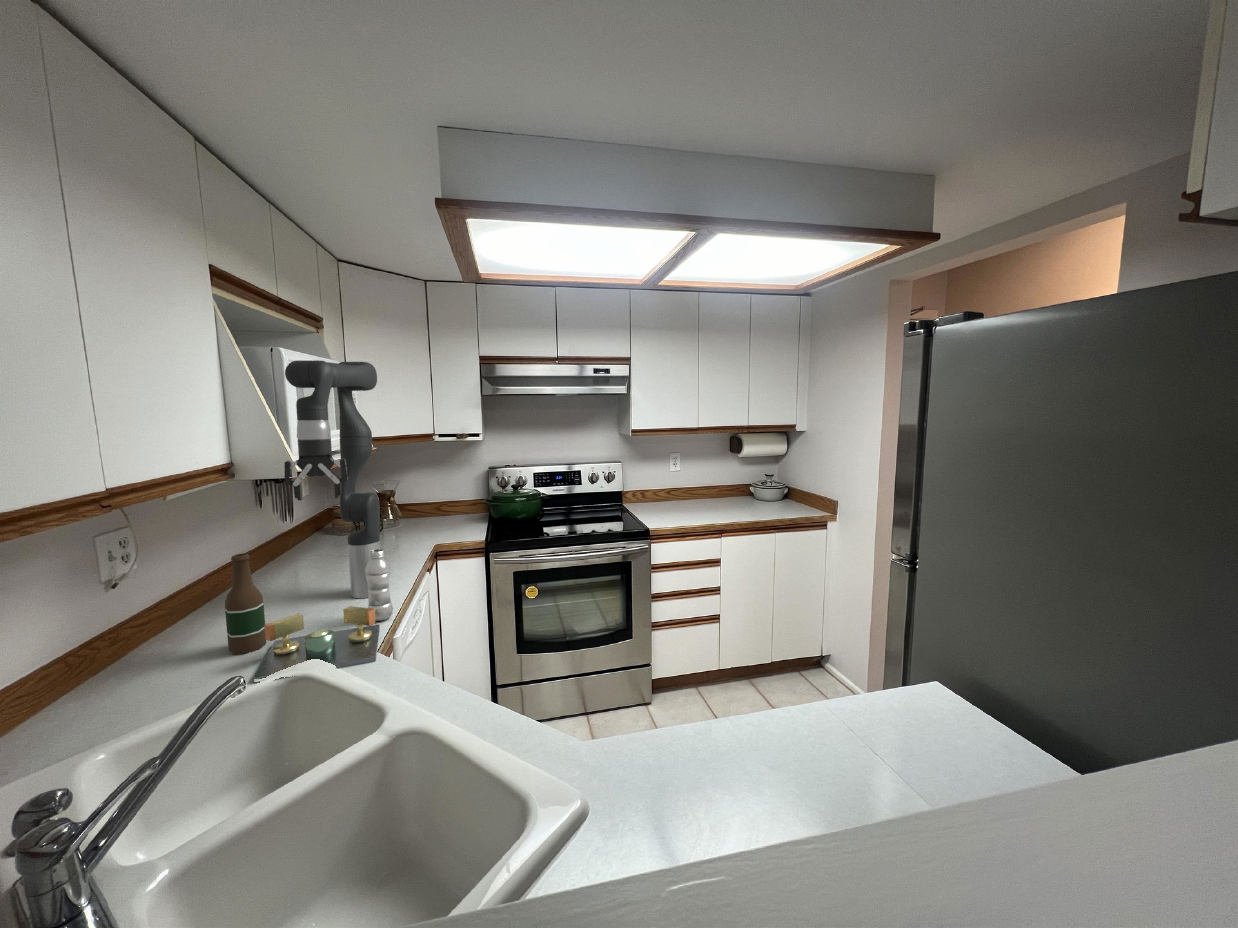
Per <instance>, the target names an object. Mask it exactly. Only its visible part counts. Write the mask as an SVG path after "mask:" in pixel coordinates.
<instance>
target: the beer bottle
mask: <svg viewBox="0 0 1238 928" xmlns="http://www.w3.org/2000/svg"><path fill="white" fill-rule="evenodd" d="M249 559H251V557H250V555H249V554H248V553H238V554H235V555H232V556H231V558H230V561H232V585H231V589H230V590H229V591H228V593H227V595H226V599H225V600H224V601H225V602H224V613H225V625H226V634H227V645H228V650H229V652H230V653H231V652H232V653H231V654H233V655H247V654H250V653H253V652H256V650H257V651H259V650H261V649H262V648H264V647H265V646H266V644H267V640H266V639H265V627H264V624H266V619H265V616H266V615H265V605H264V598H263V595H262V593H261V592H260V589H258V587H256V586H255V585H254V581H253V579H252V572H251V567H250V561H249ZM249 652H250V653H249Z"/></svg>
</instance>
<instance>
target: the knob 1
mask: <svg viewBox="0 0 1238 928" xmlns="http://www.w3.org/2000/svg"><path fill="white" fill-rule="evenodd" d="M264 627H265V639H266V641H269V642H274V641H276V640H279V638H282V639H281V640H283V643H281V644H278V645H276V646H275V647H274V648H273V649H274V654H276V655H284V654H289V653H292V652H294V651H296V650H298V649H299V642H297V641H290V640H289V638H290V635H291V634H293V633H297V632H299V631H302V630H304V629H305V623H304V614H303V613H302V614H301V613H295V614H293V615H290V616H289V615H288V616H287V617H283V618H281V619H277V620H275V621H271V622H268V623H265V624H264Z"/></svg>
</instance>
